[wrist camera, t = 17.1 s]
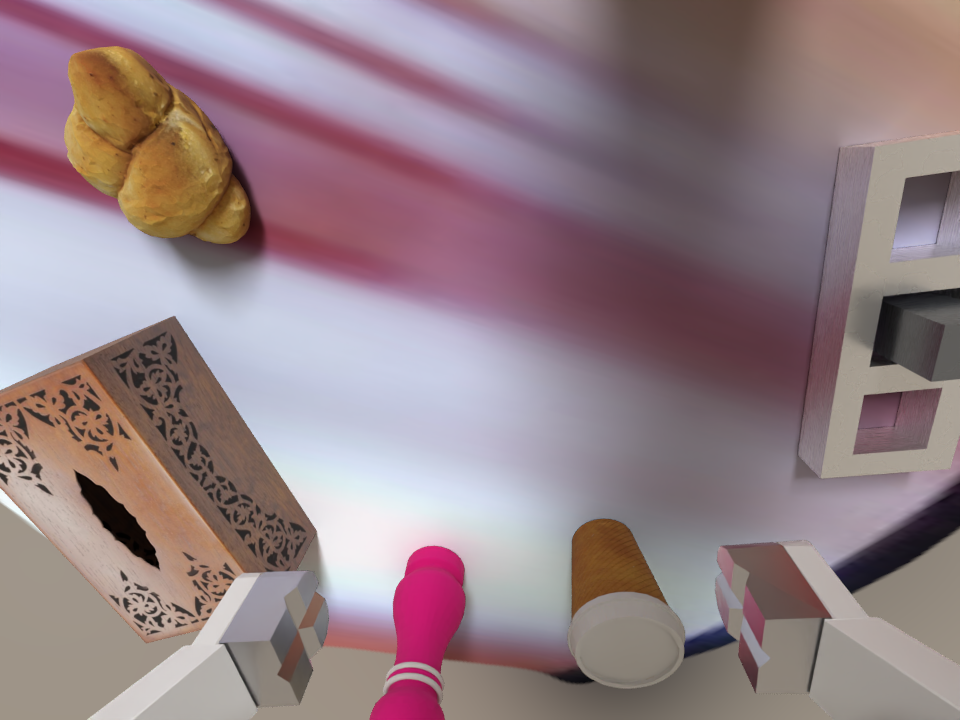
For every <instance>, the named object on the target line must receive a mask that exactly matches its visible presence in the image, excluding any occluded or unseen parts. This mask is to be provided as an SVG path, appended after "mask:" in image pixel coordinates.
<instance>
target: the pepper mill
mask: <svg viewBox="0 0 960 720" xmlns="http://www.w3.org/2000/svg"><path fill="white" fill-rule="evenodd" d="M463 578H464V565H463V563H462V561H461V559H460V558H459V557H458V556H457V555H456V554H455V553H454V552H452V551H451V550H449V549H446V548H443V547H438V546H427V547H424V548H421V549H419V550H417V551H415V552H414V553H413V554H412V555H411V556H410V558H409V560H408V563H407V567H406V571H405V577H404V578H403V579H402V580H401V581H400V583H399V584H398V586H397V588H396V591H395V595H394V601H393V618H394V623H395V628H396V633H397V654H396V661H395V664H394V667H392V668H391V669H390V670H389V671H388V673H387V675H386V683H385V685H384V687H383V694H384V696H383V697H382V698H381V699H380V700H379V701H378V702H377V703H376V704H375V706H374V708H373V710H372V712H371V715H370V720H445V718H444V714H443V711H442V709H441V707H440V704H441V701H442V698H443V693H442V691H443V688H444V681H443V678H442V676H441V675H440V673H441V672H440V671H441V665H442V660H443V656H444V653H445V651H446V648H447V645H448V644H449V642H450V640H451V638H452V637H453V635H454V634H455V632H456V631H457V629H458V627H459V625H460V623H461V620H462V618H463V615H464V609H465V594H464V591H463V588H462V585H463Z"/></svg>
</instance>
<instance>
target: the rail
mask: <svg viewBox="0 0 960 720" xmlns="http://www.w3.org/2000/svg"><path fill="white" fill-rule="evenodd" d="M945 172H952V175H951V179H950V184H949V188H948V193H947V197H946V201H945V206H944V210H943V215H942V219H941V223H940V228H939V232H938V237H937V241H936V244H929V245H921V246H913V247H905V248H897V249H892V247H893V241H894V236H895V231H896V226H897V221H898V215H899V210H900V205H901V200H902V195H903V189H904V184H905V179H906V178H909V177H916V176H923V175H930V174H938V173H945ZM925 291H933V292H936V293H939V294H942V295H945V296H949V297H952V298H955V299H958V300H960V130H955V131H949V132H942V133H935V134H928V135H922V136H915V137H908V138H901V139H895V140H888V141H881V142H874V143H867V144H861V145H854V146H847V147H840V152H839V159H838V167H837V174H836V181H835V188H834V196H833V203H832V210H831V217H830V225H829V232H828V239H827V246H826V254H825V261H824V268H823V275H822V282H821V290H820V297H819V304H818V311H817V319H816V326H815V333H814V340H813V348H812V355H811V362H810V369H809V377H808V384H807V391H806V398H805V405H804V413H803V420H802V427H801V434H800V442H799V449H798V456H799V457H800V458H801V459H802V460H803V461H804V462H805V463H806V464H807V465H808V466H809V467H810V468H811V469H812V470H813V471H814V472H815V473H816V474H817V475H818V476H819V477H820V478H821V479H822V478H835V477H849V476H862V475H875V474H888V473H902V472H915V471H928V470H942V469H950V467H951V463H952V460H953V456H954V453H955V449H956V446H957V442H958V439H959V436H960V379H957V380H946V381H935V382H930V381H929V380H927V379H925V378H923V377H921V376H919V375H917V374H916V373H914V372H912V371H910V370H908V369H906V368H904V367H903V366H901V365H899V364H897V363H895V362H893V361H891V360H890V359H888V358H886V357H884V356H882V355H880V354H878V353H877V352H875V351H873V346H874V341H875V335H876V330H877V325H878V320H879V314H880V309H881V304H882V299H883V296H890V295H899V294H908V293H917V292H925ZM901 391H902V396H901V400H900V405H899V409H898V413H897V418H896V422H895V426H892V427H881V428H869V429H858V424H859V419H860V414H861V408H862V403H863V398H864V395H869V394H880V393H891V392H901Z"/></svg>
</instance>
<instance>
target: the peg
mask: <svg viewBox="0 0 960 720" xmlns="http://www.w3.org/2000/svg"><path fill="white" fill-rule="evenodd" d="M873 351H875V352H877V353H878V354H880V355H882V356H884V357H886V358H888V359H890V360H891V361H893V362H895V363H897V364H899V365H901V366H903V367H904V368H906V369H908V370H910V371H912V372H914V373H916V374H917V375H919V376H921V377H923V378H925V379H927V380H929V381H930V382H935V381H946V380H957V379H960V300H958V299H955V298H952V297H949V296H945V295H942V294H939V293H936V292H933V291H925V292H917V293H908V294H899V295H890V296H883V299H882V304H881V309H880V314H879V320H878V325H877V330H876V335H875V341H874V346H873Z"/></svg>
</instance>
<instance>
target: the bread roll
mask: <svg viewBox="0 0 960 720" xmlns="http://www.w3.org/2000/svg"><path fill="white" fill-rule="evenodd" d="M68 77H69V79H70V82H71V85H72V89H73V94H74V98H75V104H74V107H73V111H72V112H71V114H70V115H69V117H68V120H67V123H66V126H65V134H64V140H65V143H66V146H67V149H68V154H67V156H68V158H69V160H70V162H71V163H72V164H73V167H74V168H76V170H77V171H78V172H79V173H80V174H81V175H82V176H83V177H84V178H85V179H86V180H87V181H88V182H89V183H90V184H91V185H93V186H94V187H95V188H97V189H98V190H99V191H101V192H102V193H105V194H107V195H109V196H112V197H114V198H117V199H118V203H119V205H120V208H121V210H122V211H123V213H124V214H125V216H126V217H127V219H128V221H129V222H130V223H131V224H132V225H134V226H135V227H136V228H137V229H139V230H140V231H142V232H144V233H146V234H148V235H151V236H155V237H160V238H175V237H181V236H184V235H187V234H190V235H193V236H196V237H197V238H199V239H201V240H203V241H210V242H212V243H218V244H228V243H233V242H236V241H237V240H239V239H240V238H241V237H242V236H244V235H245V233H246V232H247V230H248V228H249V223H250V216H251V215H250V212H251V208H250V203H249V200H248V197H247V195H246V193H245V191H244V189H243V188H242V186H241V185H240V182H239V181H238V180H237V179H236V178H235V176H234V175H233V174H232V165H233V163H232V159H231V156H230V154H229V151H228V148H227V147H226V145H225V144H224V142H223V139H222V137H221V135H220V134H219V132H218V131H217V129H216V128H215V126H214V125H213V124H212V122H211V121H210V120H209V118H208V117H207V116H206V115H205V113H204V112H203V111H202V110H201V109H200V108H199V107H198V106H197V105H196V103H195V102H193V101H192V100H191V99H190V98H189V97H188V96H186V95H185V94H184V93H182V92H181V91H180V90H178V89H175V88H174V87H173V86H171V85H170V84H168V83H167V82H166V81H165V80H164V78H163V77H162V76H161V75H160V74H159V73H158V72H157V71H156V70H155V69H154V68H153V67H152V66H151V65H150V64H149V63H148V62H147V61H146V60H145V59H144V58H142V57H141V56H140V55H139V54H137V53H136V52H134V51H132V50H130V49H126V48H122V47H118V46H113V47H102V48H95V49H90V50H85V51H82V52H78V53H75V54H73V55H72V56H71V58H70V61H69V64H68Z"/></svg>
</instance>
